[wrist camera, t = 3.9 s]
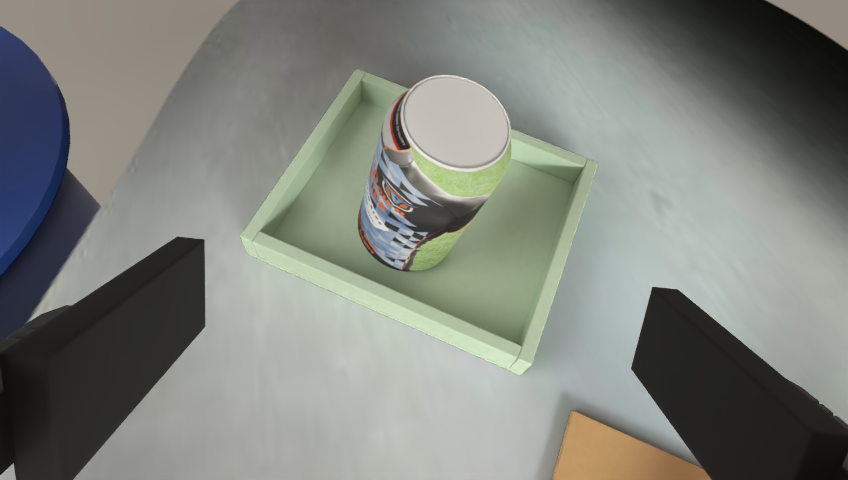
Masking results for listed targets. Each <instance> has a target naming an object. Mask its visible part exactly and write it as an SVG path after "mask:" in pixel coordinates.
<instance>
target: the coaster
mask: <svg viewBox="0 0 848 480" xmlns="http://www.w3.org/2000/svg"><path fill="white" fill-rule="evenodd" d="M552 480H711V478H710V477H709V476H708V474H707V473H706V471H705V470H704V469H703V468H701V467H698V466H696V465H694V464H692V463H689V462H687V461H685V460H683V459H680V458H678V457H676V456H674V455H672V454H669V453H667V452H665V451H663V450H660V449H658V448H656V447H654V446H651V445H649V444H647V443H645V442H642V441H640V440H638V439H636V438H634V437H631V436H629V435H627V434H625V433H622V432H620V431H618V430H616V429H613V428H611V427H609V426H607V425H604V424H602V423H600V422H598V421H595V420H593V419H591V418H589V417H587V416H584V415H582V414H580V413H578V412H575V411H571V413H570V416H569V420H568V423H567V427H566V431H565V434H564V438H563V441H562V445H561V448H560V452H559V455H558V459H557V463H556V466H555V470H554V473H553V477H552Z"/></svg>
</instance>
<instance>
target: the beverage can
mask: <svg viewBox="0 0 848 480" xmlns="http://www.w3.org/2000/svg"><path fill="white" fill-rule="evenodd" d="M510 138H511V126H510V120H509V118H508V115H507V112H506V111H505V109H504V107H503V105H502V104H501V103H500V101H499V100H498V99H497V98H496V97H495V96H494V95H493V94H492V93H491V92H490V91H489V90H488V89H486V88H485V87H483V86H482V85H480V84H478V83H476V82H475V81H472V80H470V79H467V78H464V77H460V76H455V75H437V76H432V77H428V78H426V79H423V80H421V81H420V82H418V83H417V84H415V85H414V86H413V87H412V88H411V89H409V90H408V91H406V92H405V93H403V94H402V95H400V96H399V97H398V98H397V99H396V100H395V101H394V102H393V104H392V105H391V107H390V108H389V110H388V111H387V113H386V116H385V119H384V121H383V125H382V128H381V132H380V136H379V139H378V143H377V147H376V151H375V154H374V158H373V162H372V165H371V169H370V173H369V176H368V180H367V184H366V187H365V191H364V195H363V199H362V202H361V206H360V210H359V214H358V231H359V235H360V238H361V240H362V243H363V245H364V246H365V248H366V249H367V251H368V252H369V253H370V254H371V255H372V256H373V257H374V258H375V259H376V260H377V261H379V262H380V263H382V264H383V265H385V266H387V267H389V268H392V269H395V270H398V271H404V272H417V271H423V270H426V269H429V268H431V267H433V266H435V265H437V264H438V263H439V262H441V261H442V260H443V259H444V258H445V257H446V255H447V254H448V253H449V251H450V250H451V249H452V247H453V246H454V245H455V243H456V242H457V240H458V239H459V238H460V236H461V235H462V234H463V232H464V231H465V229H466V228H467V227H468V225H469V224H470V222H471V221H472V220H473V218H474V217H475V216H476V214H477V213H478V211H479V210H480V209H481V207H482V206H483V205H484V203H485V202H486V200H487V199H488V198H489V196H490V195H491V194H492V192H493V191H494V189H495V188H496V187H497V185H498V184H499V182H500V181H501V180H502V178H503V177H504V175H505V173H506V171H507V169H508V167H509V163H510V159H511V139H510Z"/></svg>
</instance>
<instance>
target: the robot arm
mask: <svg viewBox="0 0 848 480" xmlns="http://www.w3.org/2000/svg"><path fill="white" fill-rule="evenodd" d="M204 327H205V254H204V240H203V239H194V238H184V237H176V238H175V239H173V240H172V241H170V242H168V243H167V244H165V245H164V246H162V247H161V248H159V249H158V250H156V251H155V252H153V253H152V254H150V255H149V256H147V257H146V258H144V259H143V260H141V261H139V262H138V263H136V264H135V265H133V266H132V267H130V268H129V269H127V270H126V271H124V272H123V273H121V274H120V275H118V276H117V277H115V278H114V279H112V280H111V281H109V282H107V283H106V284H104V285H103V286H101V287H100V288H98V289H97V290H95V291H94V292H92V293H91V294H89V295H88V296H86V297H85V298H83V299H82V300H80V301H78V302H77V303H75V304H74V305H72V306H69V305H66V306H63V307H60V308H58V309H55V310H52V311H49V312H46V313H43V314H41V315H40V316H38V317H36V318H35V319H33V320H32V321H30V322H28V323H27V324H25V325H24V326H23V328H19V329H17V330H16V331H14V332H12V333H11V334H9V335H8V338H6V337H4V338H3V339H1V340H0V475H1V474H2V473H3V472H4V471H5V470H6V469H7V468H8V467H9V466H11V465H12V464H13V463H14V468H15V475H16V480H73V479H74V478H75V477H76V476H77V474H78V473H79V472H80V471H81V470H82V469H83V467H84V466H85V465H86V464H87V463H88V462H89V460H90V459H91V458H92V457H93V456H94V455H95V454H96V452H97V451H98V450H99V449H100V448H101V447H102V445H103V444H104V443H105V442H106V441H107V440H108V438H109V437H110V436H111V435H112V434H113V433H114V432H115V430H116V429H117V428H118V427H119V426H120V425H121V423H122V422H123V421H124V420H125V419H126V418H127V416H128V415H129V414H130V413H131V412H132V411H133V410H134V408H135V407H136V406H137V405H138V404H139V403H140V401H141V400H142V399H143V398H144V397H145V396H146V394H147V393H148V392H149V391H150V390H151V389H152V388H153V386H154V385H155V384H156V383H157V382H158V381H159V379H160V378H161V377H162V376H163V375H164V374H165V372H166V371H167V370H168V369H169V368H170V367H171V366H172V364H173V363H174V362H175V361H176V360H177V359H178V357H179V356H180V355H181V354H182V353H183V352H184V350H185V349H186V348H187V347H188V346H189V345H190V344H191V342H192V341H193V340H194V339H195V338H196V337H197V335H198V334H199V333H200V332H201V331H202V330H203V328H204ZM631 369H632V371H633V372H634V373H635V375H636V376H637V377H638V379H639V380H640V382H641V383H642V384H643V386H644V387H645V388H646V390H647V391H648V393H649V394H650V395H651V397H652V398H653V400H654V401H655V402H656V404H657V405H658V406H659V408H660V409H661V411H662V412H663V413H664V415H665V416H666V418H667V419H668V420H669V422H670V423H671V424H672V426H673V427H674V429H675V430H676V431H677V433H678V434H679V436H680V437H681V438H682V440H683V441H684V442H685V444H686V445H687V447H688V448H689V449H690V451H691V452H692V453H693V455H694V456H695V458H696V459H697V460H698V462H699V463H700V465H701V466H702V467H703V469H704V470H705V471H706V473H707V474H708V476H709V477H710V478H711V480H848V425H847V424H846V423H845V422H844V421H842V420H841V419H840V418H839V417H837V416H833V413H832V412H831V411H830V410H829V409H828V408H826V407H825V406H824V405H823V404H819V401H818V400H817V399H815V398H814V397H813V396H812V395H810V394H809V393H808V392H807V391H805V390H804V389H803V388H802V387H800V386H798V385H796V384H795V383H793V382H791V381H789V380H787V379H786V378H784V377H783V376H782V375H781V374H780V373H778V372H777V371H776V370H775V369H773V368H772V367H771V366H770V365H769V364H767V363H766V362H765V361H764V360H763V359H761V358H760V357H759V356H758V355H756V354H755V353H754V352H753V351H752V350H750V349H749V348H748V347H747V346H746V345H744V344H743V343H742V342H741V341H740V340H738V339H737V338H736V337H735V336H733V335H732V334H731V333H730V332H729V331H727V330H726V329H725V328H724V327H723V326H721V325H720V324H719V323H718V322H716V321H715V320H714V319H713V318H712V317H710V316H709V315H708V314H707V313H706V312H704V311H703V310H702V309H701V308H700V307H698V306H697V305H696V304H695V303H693V302H692V301H691V300H690V299H689V298H687V297H686V296H685V295H684V294H683V293H681V292H680V291H679V290H677V289H668V288H658V287H652V291H651V295H650V298H649V302H648V306H647V310H646V314H645V318H644V321H643V325H642V329H641V333H640V337H639V340H638V344H637V348H636V352H635V356H634V360H633V363H632V367H631Z"/></svg>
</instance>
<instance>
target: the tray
mask: <svg viewBox="0 0 848 480" xmlns="http://www.w3.org/2000/svg"><path fill="white" fill-rule="evenodd" d="M408 90H409V89H408V88H406V87H403V86H401V85H398V84H395V83H393V82H390V81H388V80H385V79H383V78H380V77H377V76H375V75H372V74H370V73H366V72H364V71H362V70H359V69H356V70H355V71H354V73H353V74H352V75H351V77H350V78H349V80H348V81H347V83H346V84H345V85H344V87H343V88H342V90H341V91H340V93H339V94H338V96H337V97H336V98H335V100H334V101H333V103H332V104H331V106H330V107H329V109H328V110H327V111H326V113H325V114H324V116H323V117H322V119H321V120H320V122H319V123H318V124H317V126H316V127H315V129H314V130H313V132H312V133H311V134H310V136H309V137H308V139H307V140H306V142H305V143H304V145H303V146H302V147H301V149H300V150H299V152H298V153H297V155H296V156H295V158H294V159H293V160H292V162H291V163H290V165H289V166H288V168H287V169H286V170H285V172H284V173H283V175H282V176H281V178H280V179H279V181H278V182H277V183H276V185H275V186H274V188H273V189H272V191H271V192H270V194H269V195H268V196H267V198H266V199H265V201H264V202H263V204H262V205H261V207H260V208H259V209H258V211H257V212H256V214H255V215H254V217H253V218H252V219H251V221H250V222H249V224H248V225H247V227H246V228H245V230H244V231H243V232H242V234H241V235H240V238H241V240H242V242H243V244H244V246H245V248H246V250H247V253H248V255H250V256H253V257H255V258H257V259H259V260H262V261H264V262H266V263H268V264H271V265H273V266H275V267H277V268H280V269H282V270H284V271H286V272H289V273H291V274H293V275H295V276H298V277H300V278H302V279H304V280H307V281H309V282H311V283H313V284H316V285H318V286H320V287H322V288H325V289H327V290H329V291H331V292H334V293H336V294H338V295H340V296H343V297H345V298H347V299H349V300H352V301H354V302H356V303H358V304H361V305H363V306H365V307H367V308H370V309H372V310H374V311H376V312H379V313H381V314H383V315H385V316H388V317H390V318H392V319H394V320H397V321H399V322H401V323H403V324H406V325H408V326H410V327H412V328H415V329H417V330H419V331H421V332H424V333H426V334H428V335H430V336H433V337H435V338H437V339H439V340H442V341H444V342H446V343H448V344H451V345H453V346H455V347H457V348H460V349H462V350H464V351H466V352H469V353H471V354H473V355H475V356H478V357H480V358H482V359H484V360H487V361H489V362H491V363H493V364H496V365H498V366H500V367H502V368H505V369H507V370H509V371H511V372H514V373H516V374H518V375H521V374H522V373H523V372H524V371H525V370H526V369H527V368H529V367H530V366H531V365H532V362H533V359H534V356H535V353H536V350H537V347H538V344H539V341H540V338H541V335H542V332H543V329H544V326H545V323H546V320H547V317H548V314H549V311H550V308H551V305H552V302H553V299H554V296H555V293H556V290H557V287H558V284H559V281H560V278H561V275H562V272H563V269H564V266H565V263H566V260H567V257H568V254H569V251H570V248H571V245H572V242H573V239H574V235H575V232H576V229H577V226H578V223H579V220H580V217H581V214H582V211H583V208H584V205H585V202H586V199H587V196H588V193H589V190H590V187H591V184H592V181H593V178H594V175H595V172H596V169H597V166H598V162H595V161H593V160H590V159H587V158H586V157H583V156H580V155H578V154H575V153H573V152H570V151H568V150H565V149H562V148H560V147H557V146H555V145H552V144H550V143H547V142H544V141H542V140H539V139H537V138H534V137H532V136H529V135H526V134H524V133H521V132H519V131H516V130H514V129H511V138H510V139H511V159H510V163H509V167H508V169H507V171H506V173H505V175H504V177H503V178H502V180H501V181H500V182H499V184H498V185H497V187H496V188H495V189H494V191H493V192H492V194H491V195H490V196H489V198H488V199H487V200H486V202H485V203H484V205H483V206H482V207H481V209H480V210H479V211H478V213H477V214H476V216H475V217H474V218H473V220H472V221H471V222H470V224H469V225H468V227H467V228H466V229H465V231H464V232H463V234H462V235H461V236H460V238H459V239H458V240H457V242H456V243H455V245H454V246H453V247H452V249H451V250H450V251H449V253H448V254H447V255H446V257H445V258H444V259H443V260H442V261H441V262H439V263H438V264H437V265H435V266H433V267H431V268H429V269H426V270H423V271H417V272H404V271H398V270H395V269H392V268H389V267H387V266H385V265H383V264H382V263H380V262H379V261H377V260H376V259H375V258H374V257H373V256H372V255H371V254H370V253H369V252H368V251H367V249H366V248H365V246H364V245H363V243H362V240H361V238H360V235H359V231H358V214H359V210H360V206H361V202H362V199H363V195H364V191H365V187H366V184H367V180H368V176H369V173H370V169H371V165H372V162H373V158H374V154H375V151H376V147H377V143H378V139H379V136H380V132H381V128H382V125H383V121H384V119H385V116H386V113H387V111H388V110H389V108H390V107H391V105H392V104H393V102H394V101H395V100H396V99H397V98H398V97H399V96H400V95H402V94H403V93H405V92H406V91H408Z"/></svg>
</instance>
